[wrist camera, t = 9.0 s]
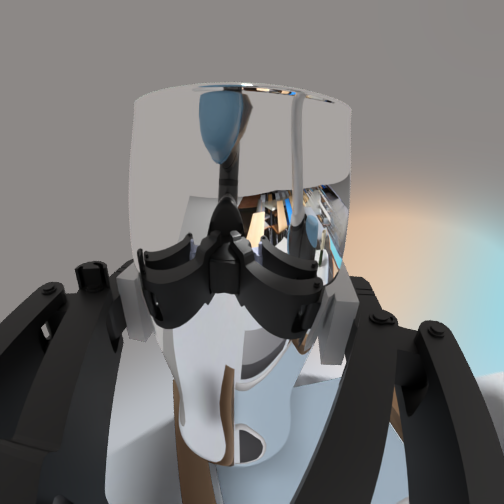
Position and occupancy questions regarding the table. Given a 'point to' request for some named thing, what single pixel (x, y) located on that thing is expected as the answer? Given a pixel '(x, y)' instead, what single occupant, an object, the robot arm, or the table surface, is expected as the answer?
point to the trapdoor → (308, 457)
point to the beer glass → (238, 249)
